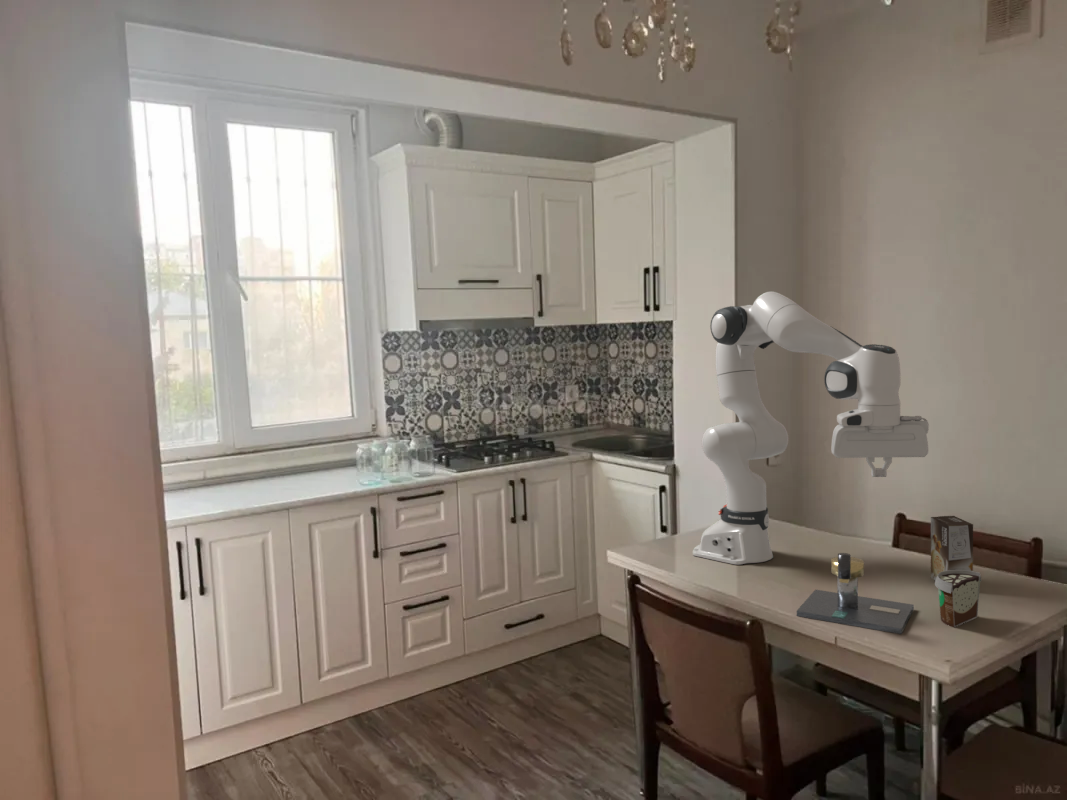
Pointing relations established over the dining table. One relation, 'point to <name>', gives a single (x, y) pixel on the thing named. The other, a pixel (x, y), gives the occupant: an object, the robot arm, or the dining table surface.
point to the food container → (958, 596)
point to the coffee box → (951, 545)
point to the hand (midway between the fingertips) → (878, 476)
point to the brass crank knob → (847, 567)
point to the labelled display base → (856, 609)
